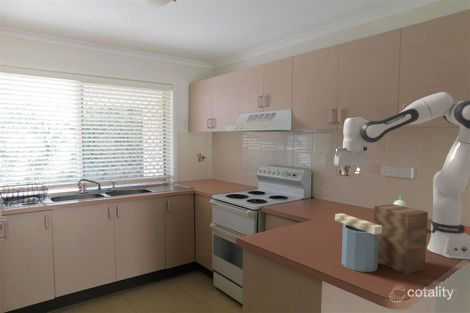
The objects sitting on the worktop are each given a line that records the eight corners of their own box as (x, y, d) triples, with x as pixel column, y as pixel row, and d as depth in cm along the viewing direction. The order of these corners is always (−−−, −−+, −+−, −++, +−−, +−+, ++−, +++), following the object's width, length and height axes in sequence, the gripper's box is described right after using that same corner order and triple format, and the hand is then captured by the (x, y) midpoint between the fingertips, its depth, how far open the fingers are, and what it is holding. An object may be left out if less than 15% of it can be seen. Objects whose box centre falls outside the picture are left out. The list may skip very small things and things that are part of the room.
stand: (372, 259, 137) (374, 206, 135) (391, 255, 142) (393, 204, 140) (405, 274, 122) (408, 214, 121) (424, 269, 127) (427, 212, 126)
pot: (375, 261, 135) (377, 225, 134) (378, 274, 122) (380, 234, 121) (341, 256, 140) (343, 221, 139) (341, 268, 127) (342, 230, 126)
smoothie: (401, 226, 190) (403, 194, 189) (409, 230, 182) (411, 196, 180) (388, 226, 190) (389, 194, 188) (395, 230, 181) (397, 196, 180)
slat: (334, 220, 141) (335, 214, 141) (341, 219, 142) (341, 213, 142) (374, 234, 121) (374, 227, 121) (381, 233, 122) (382, 225, 122)
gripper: (340, 148, 151) (339, 175, 152) (370, 148, 160) (369, 174, 160) (331, 147, 157) (330, 174, 158) (361, 147, 165) (360, 173, 166)
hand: (350, 174), depth 159 cm, fingers open, 8 cm apart
